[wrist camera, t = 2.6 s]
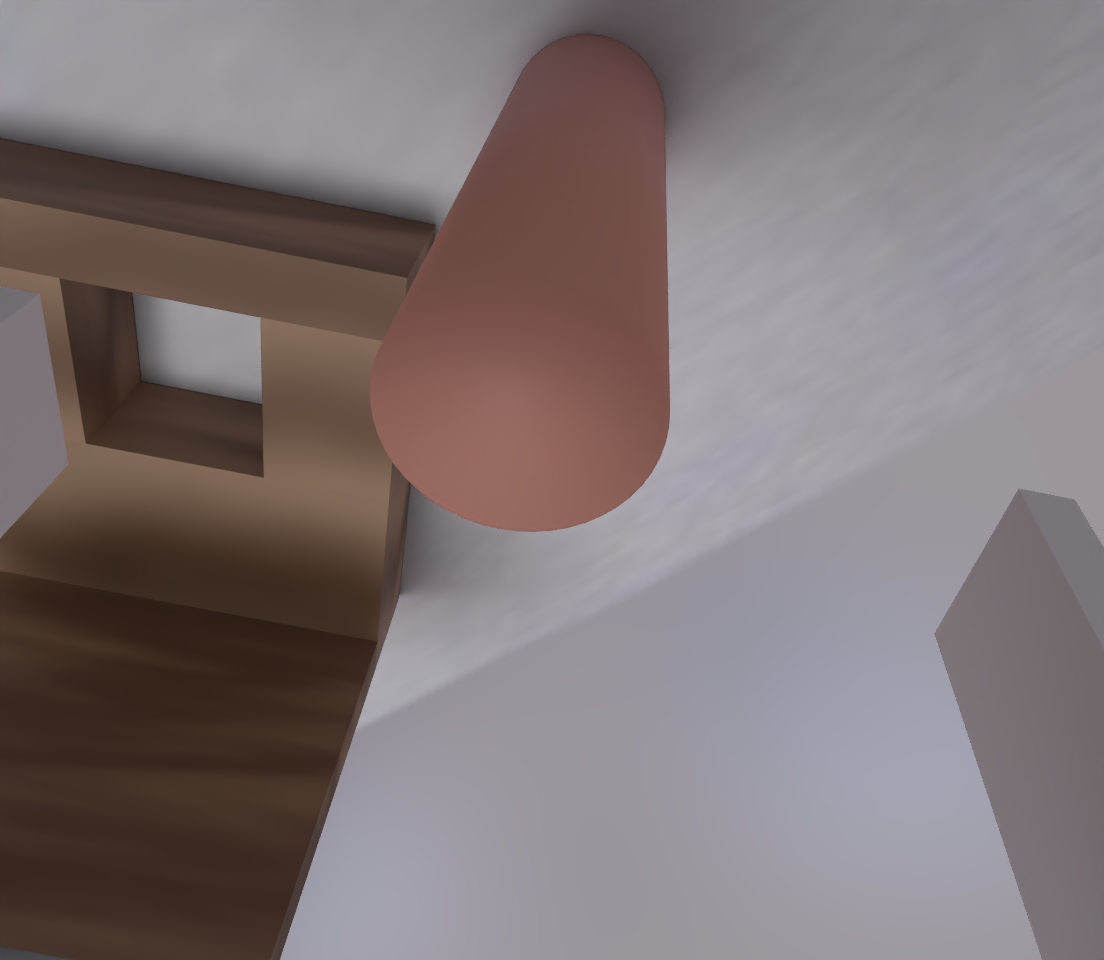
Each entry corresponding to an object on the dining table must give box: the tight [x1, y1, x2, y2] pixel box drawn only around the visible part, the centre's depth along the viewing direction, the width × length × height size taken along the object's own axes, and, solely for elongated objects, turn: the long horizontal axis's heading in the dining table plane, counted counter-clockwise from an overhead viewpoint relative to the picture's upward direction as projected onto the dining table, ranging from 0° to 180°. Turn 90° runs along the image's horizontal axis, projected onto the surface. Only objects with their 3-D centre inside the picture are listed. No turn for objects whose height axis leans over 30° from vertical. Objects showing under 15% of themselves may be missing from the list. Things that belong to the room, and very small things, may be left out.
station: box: [0, 139, 435, 960], centre depth 26 cm, size 16×15×19 cm
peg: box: [370, 34, 670, 532], centre depth 20 cm, size 4×4×16 cm
